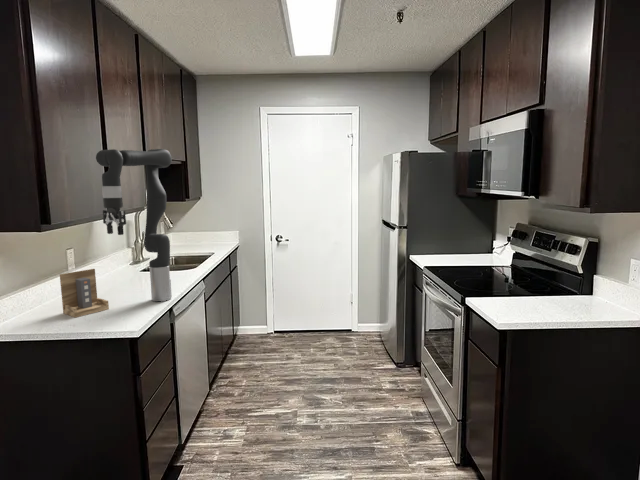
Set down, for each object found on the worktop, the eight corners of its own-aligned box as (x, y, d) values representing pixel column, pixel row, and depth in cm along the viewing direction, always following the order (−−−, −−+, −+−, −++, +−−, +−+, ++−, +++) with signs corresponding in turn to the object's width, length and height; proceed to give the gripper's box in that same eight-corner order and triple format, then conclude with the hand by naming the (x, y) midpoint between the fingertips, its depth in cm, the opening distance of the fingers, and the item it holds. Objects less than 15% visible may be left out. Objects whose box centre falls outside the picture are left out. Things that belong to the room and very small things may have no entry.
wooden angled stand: (108, 309, 195) (105, 271, 193) (75, 317, 183) (71, 277, 181) (96, 305, 202) (93, 268, 199) (63, 313, 190) (59, 274, 187)
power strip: (92, 306, 193) (90, 278, 191) (83, 308, 190) (80, 280, 188) (87, 304, 196) (84, 277, 194) (78, 306, 192) (75, 279, 191)
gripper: (130, 196, 179) (132, 234, 181) (112, 196, 187) (115, 232, 189) (112, 197, 173) (115, 236, 175) (95, 197, 181) (98, 234, 183)
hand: (115, 234), depth 182 cm, fingers open, 8 cm apart
